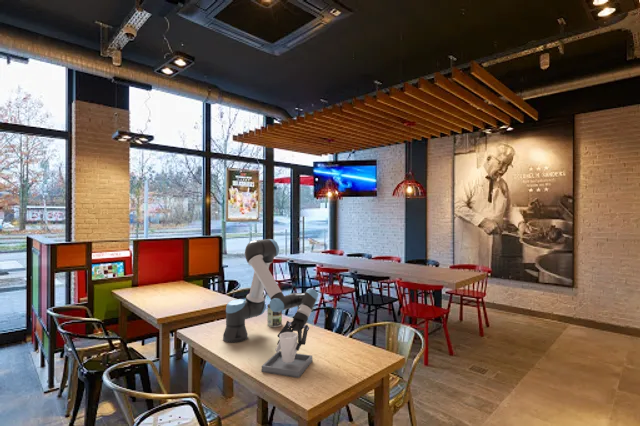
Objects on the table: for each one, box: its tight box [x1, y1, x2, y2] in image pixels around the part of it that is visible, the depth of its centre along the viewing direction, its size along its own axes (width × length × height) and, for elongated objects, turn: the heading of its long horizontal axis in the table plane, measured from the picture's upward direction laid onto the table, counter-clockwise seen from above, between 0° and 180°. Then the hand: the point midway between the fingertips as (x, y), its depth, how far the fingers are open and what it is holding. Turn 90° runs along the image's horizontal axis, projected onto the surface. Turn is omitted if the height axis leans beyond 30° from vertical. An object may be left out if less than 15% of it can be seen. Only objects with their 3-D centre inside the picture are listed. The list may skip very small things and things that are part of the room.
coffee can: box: [266, 303, 283, 328], centre depth 247 cm, size 10×10×14 cm
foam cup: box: [278, 331, 298, 363], centre depth 181 cm, size 10×9×13 cm
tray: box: [261, 350, 313, 379], centre depth 181 cm, size 20×20×3 cm
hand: (284, 353), depth 178 cm, fingers closed on foam cup, 9 cm apart
